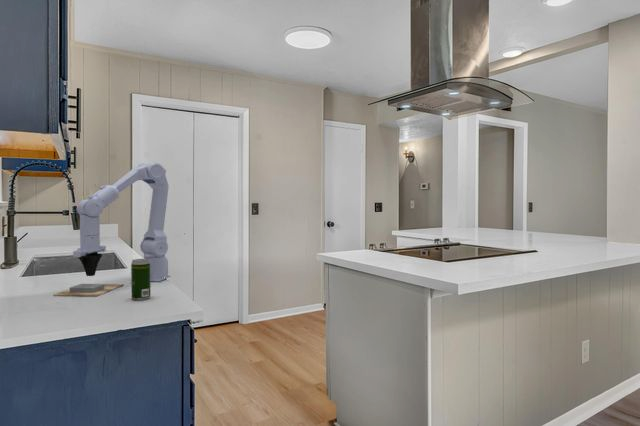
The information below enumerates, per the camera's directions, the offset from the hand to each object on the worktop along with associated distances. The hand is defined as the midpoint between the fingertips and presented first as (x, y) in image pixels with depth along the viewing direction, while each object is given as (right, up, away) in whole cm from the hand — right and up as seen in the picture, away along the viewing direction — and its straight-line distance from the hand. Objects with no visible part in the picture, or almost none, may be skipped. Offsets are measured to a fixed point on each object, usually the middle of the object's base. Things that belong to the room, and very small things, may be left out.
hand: (90, 275), depth 135 cm
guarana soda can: (+22, -6, -10) cm, 24 cm away
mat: (0, -5, 0) cm, 5 cm away
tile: (0, -4, +1) cm, 4 cm away
